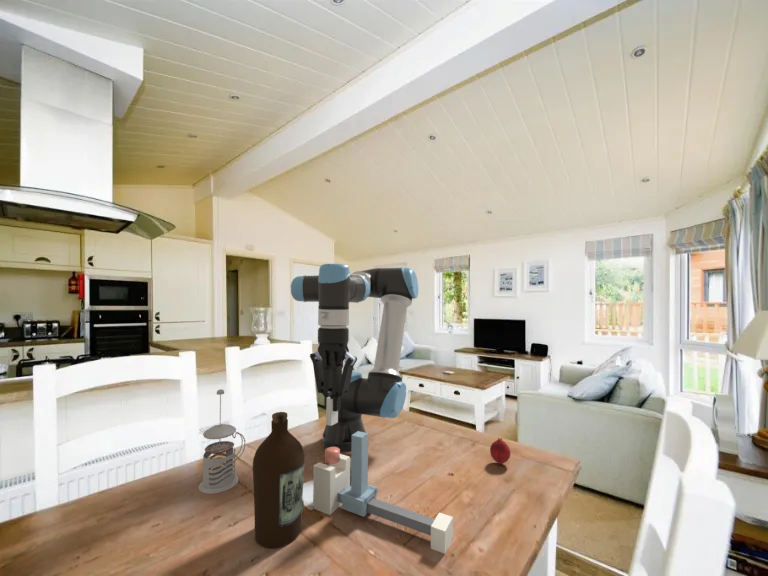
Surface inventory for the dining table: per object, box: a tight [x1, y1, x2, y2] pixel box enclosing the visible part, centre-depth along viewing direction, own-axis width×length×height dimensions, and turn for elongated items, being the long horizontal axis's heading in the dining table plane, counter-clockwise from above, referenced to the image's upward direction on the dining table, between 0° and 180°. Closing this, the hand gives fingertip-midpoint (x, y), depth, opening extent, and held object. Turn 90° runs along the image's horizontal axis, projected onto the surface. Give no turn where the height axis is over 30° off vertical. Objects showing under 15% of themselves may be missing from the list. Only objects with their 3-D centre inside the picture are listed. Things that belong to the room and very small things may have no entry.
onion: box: [489, 436, 511, 465], centre depth 103 cm, size 6×6×8 cm
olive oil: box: [252, 411, 306, 549], centre depth 73 cm, size 11×11×25 cm
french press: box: [197, 389, 246, 495], centre depth 92 cm, size 10×12×25 cm
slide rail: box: [312, 453, 454, 555], centre depth 77 cm, size 32×8×10 cm, turn 61°
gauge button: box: [324, 447, 341, 465], centre depth 83 cm, size 4×4×2 cm
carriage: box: [341, 431, 378, 517], centre depth 79 cm, size 6×6×17 cm
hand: (332, 423), depth 83 cm, fingers closed
